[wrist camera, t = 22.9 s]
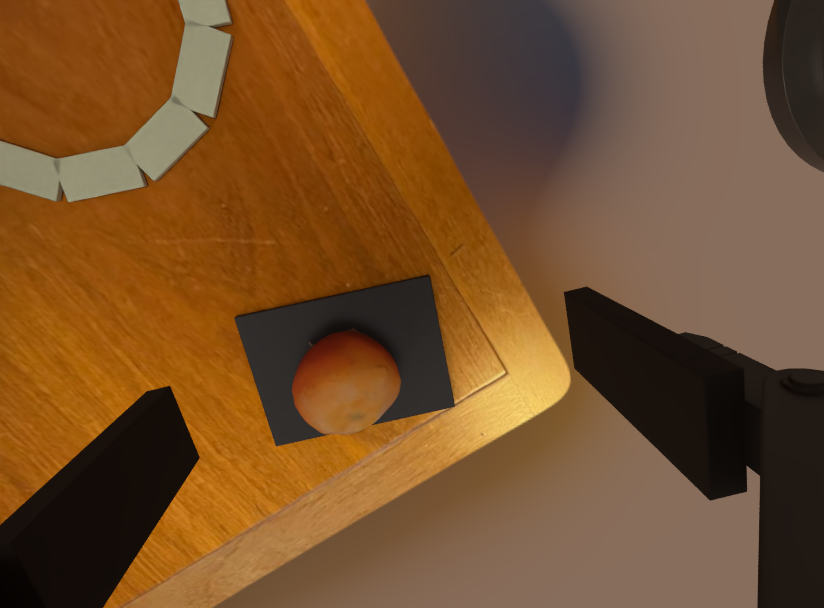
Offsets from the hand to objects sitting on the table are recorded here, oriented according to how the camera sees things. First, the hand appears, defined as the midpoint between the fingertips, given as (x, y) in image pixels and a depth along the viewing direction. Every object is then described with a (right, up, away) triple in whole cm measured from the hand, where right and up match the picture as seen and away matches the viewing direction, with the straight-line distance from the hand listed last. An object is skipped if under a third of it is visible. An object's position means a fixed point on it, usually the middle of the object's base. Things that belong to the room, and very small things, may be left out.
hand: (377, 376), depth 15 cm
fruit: (-4, -3, +24) cm, 24 cm away
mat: (-4, -3, +24) cm, 24 cm away
